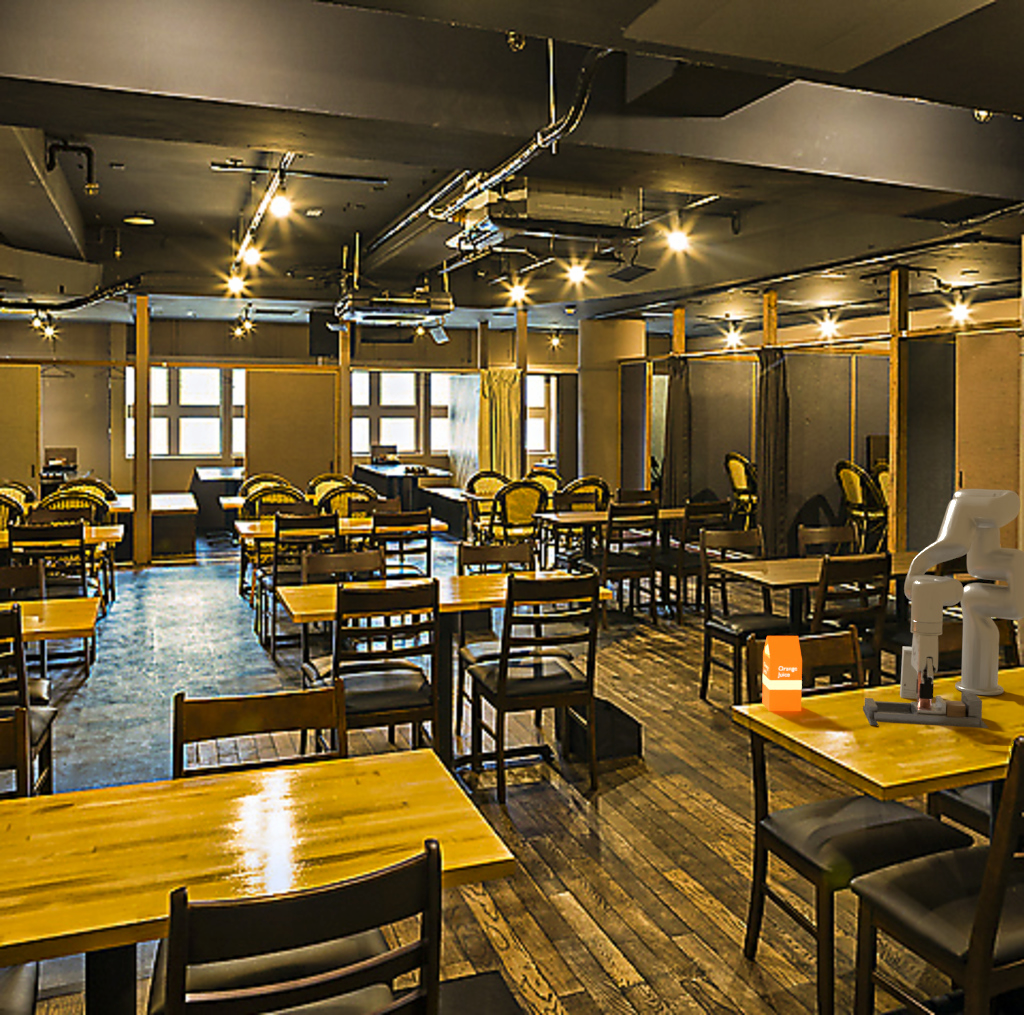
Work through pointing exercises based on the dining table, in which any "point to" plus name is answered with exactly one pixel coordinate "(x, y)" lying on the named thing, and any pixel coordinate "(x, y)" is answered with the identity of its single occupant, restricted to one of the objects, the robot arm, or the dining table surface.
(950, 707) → the brown wooden cube
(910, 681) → the skincare box
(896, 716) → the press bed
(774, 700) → the orange juice
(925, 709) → the ram
